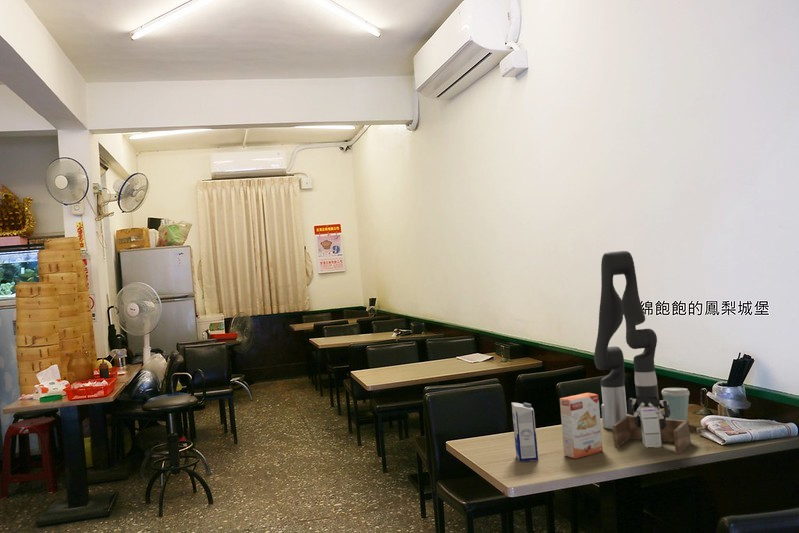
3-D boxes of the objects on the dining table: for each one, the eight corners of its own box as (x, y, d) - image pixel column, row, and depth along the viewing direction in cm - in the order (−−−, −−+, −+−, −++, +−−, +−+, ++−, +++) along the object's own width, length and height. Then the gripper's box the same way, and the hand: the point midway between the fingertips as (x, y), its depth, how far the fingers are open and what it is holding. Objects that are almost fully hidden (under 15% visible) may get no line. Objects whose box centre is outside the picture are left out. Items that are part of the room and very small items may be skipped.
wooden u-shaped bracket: (614, 446, 215) (612, 425, 216) (628, 436, 227) (626, 415, 227) (679, 454, 201) (677, 431, 201) (690, 442, 213) (688, 420, 213)
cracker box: (575, 459, 205) (570, 400, 205) (563, 456, 210) (558, 397, 211) (604, 451, 211) (599, 393, 212) (592, 448, 216) (586, 391, 217)
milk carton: (516, 456, 214) (511, 401, 215) (534, 454, 214) (529, 400, 215) (519, 461, 207) (514, 405, 208) (538, 460, 207) (533, 404, 208)
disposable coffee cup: (660, 422, 243) (657, 386, 244) (687, 421, 242) (684, 384, 242) (668, 428, 233) (665, 391, 233) (697, 427, 231) (693, 389, 232)
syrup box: (662, 447, 210) (658, 407, 211) (645, 447, 211) (641, 407, 212) (658, 442, 216) (654, 403, 216) (641, 443, 217) (638, 404, 217)
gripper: (669, 382, 213) (674, 427, 212) (629, 381, 222) (634, 423, 221) (663, 385, 207) (668, 431, 206) (623, 384, 216) (627, 428, 215)
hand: (650, 427), depth 213 cm, fingers open, 8 cm apart
